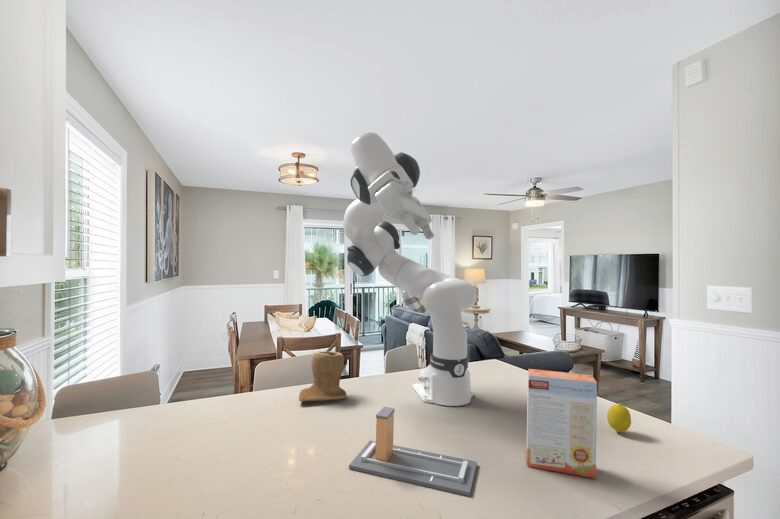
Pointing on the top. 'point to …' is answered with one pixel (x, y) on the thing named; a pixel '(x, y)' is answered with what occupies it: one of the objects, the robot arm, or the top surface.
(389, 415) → the fader cap
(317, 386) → the tan ugg boot
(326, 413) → the top surface
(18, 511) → the top surface
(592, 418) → the cracker box
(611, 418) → the lemon
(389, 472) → the grey fader base
